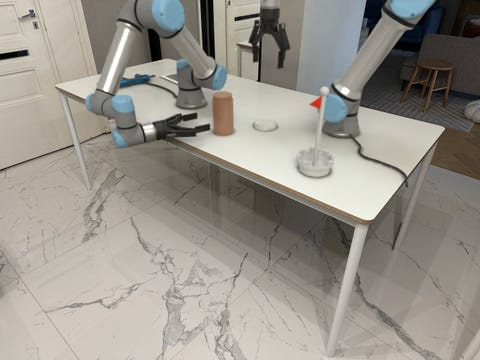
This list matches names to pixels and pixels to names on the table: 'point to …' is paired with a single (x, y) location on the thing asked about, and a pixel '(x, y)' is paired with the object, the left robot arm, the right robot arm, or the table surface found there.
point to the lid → (265, 124)
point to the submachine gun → (136, 79)
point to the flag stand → (316, 146)
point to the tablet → (171, 77)
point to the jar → (223, 113)
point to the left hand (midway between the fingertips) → (203, 121)
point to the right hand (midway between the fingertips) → (267, 65)
